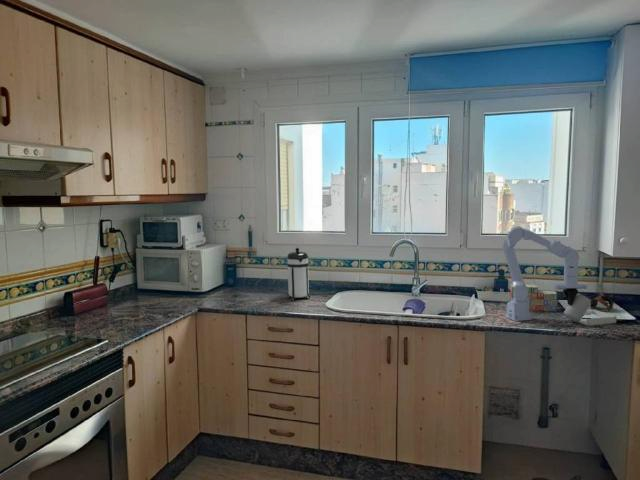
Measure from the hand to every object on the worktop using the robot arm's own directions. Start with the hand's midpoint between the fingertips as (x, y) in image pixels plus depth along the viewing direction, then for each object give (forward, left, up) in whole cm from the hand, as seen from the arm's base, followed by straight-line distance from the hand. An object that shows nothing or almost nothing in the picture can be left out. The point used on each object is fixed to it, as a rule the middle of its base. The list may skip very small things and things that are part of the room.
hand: (570, 304), depth 216 cm
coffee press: (-111, +90, -9) cm, 143 cm away
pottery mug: (+30, +15, -9) cm, 35 cm away
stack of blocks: (0, +26, -9) cm, 27 cm away
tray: (+12, 0, -9) cm, 15 cm away
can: (0, 0, -7) cm, 7 cm away
